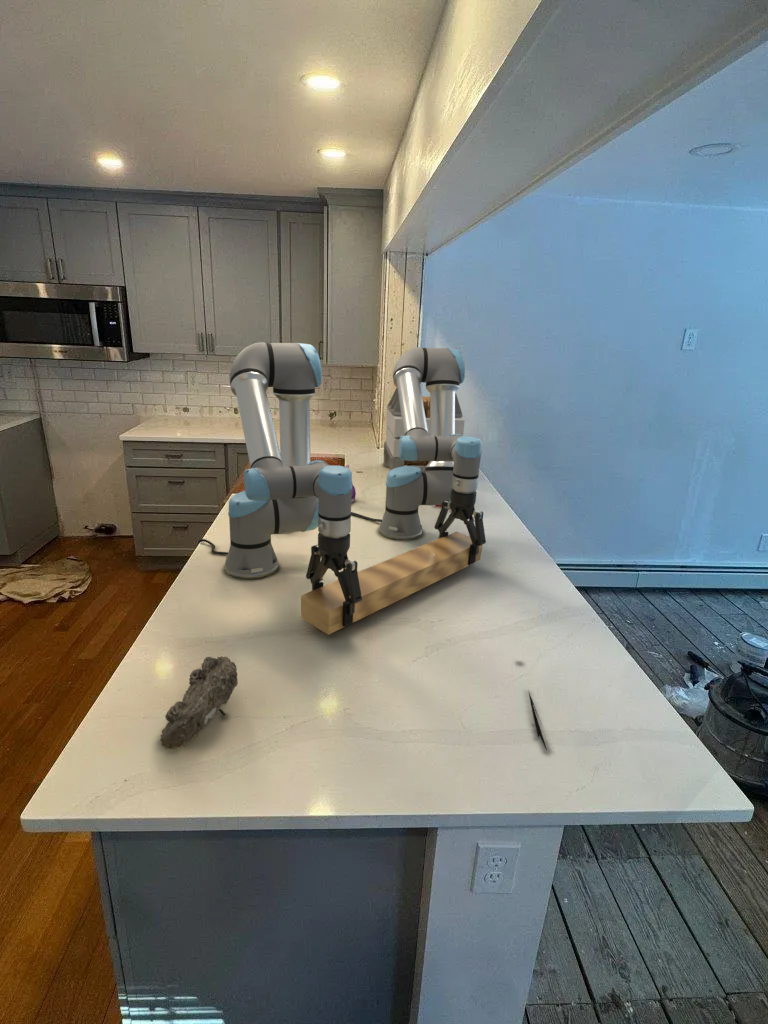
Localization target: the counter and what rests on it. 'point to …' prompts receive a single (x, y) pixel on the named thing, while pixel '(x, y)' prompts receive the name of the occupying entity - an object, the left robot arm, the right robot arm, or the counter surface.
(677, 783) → the counter surface
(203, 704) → the fossil
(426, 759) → the counter surface
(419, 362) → the right robot arm
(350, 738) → the counter surface
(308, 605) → the thick board
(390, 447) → the transformer
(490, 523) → the counter surface
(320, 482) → the left robot arm
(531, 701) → the feather
